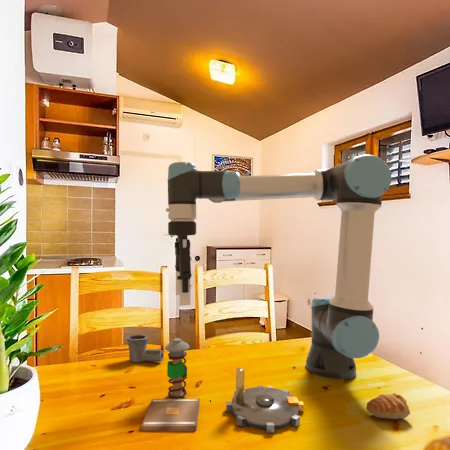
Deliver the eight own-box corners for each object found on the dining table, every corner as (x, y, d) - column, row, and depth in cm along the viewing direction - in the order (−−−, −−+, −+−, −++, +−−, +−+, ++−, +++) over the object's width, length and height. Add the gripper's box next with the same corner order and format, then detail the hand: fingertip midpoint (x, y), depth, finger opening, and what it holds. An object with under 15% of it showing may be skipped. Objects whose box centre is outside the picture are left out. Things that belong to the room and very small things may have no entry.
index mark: (267, 387, 96) (267, 385, 96) (273, 387, 96) (273, 386, 96) (266, 392, 93) (266, 390, 93) (272, 392, 93) (272, 391, 93)
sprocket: (294, 391, 93) (294, 354, 93) (313, 433, 75) (313, 386, 75) (225, 392, 93) (225, 355, 93) (227, 433, 74) (227, 387, 75)
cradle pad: (199, 402, 88) (199, 398, 88) (196, 430, 76) (196, 425, 76) (152, 402, 88) (152, 398, 88) (141, 430, 76) (141, 425, 76)
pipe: (158, 366, 110) (158, 341, 110) (121, 363, 113) (121, 338, 113) (165, 359, 116) (166, 335, 116) (130, 356, 119) (130, 333, 119)
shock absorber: (194, 395, 92) (194, 338, 92) (178, 405, 86) (179, 345, 86) (175, 388, 95) (176, 334, 95) (159, 398, 90) (159, 340, 90)
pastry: (377, 423, 78) (378, 407, 78) (359, 407, 85) (359, 391, 85) (412, 417, 80) (413, 401, 80) (392, 402, 87) (392, 387, 87)
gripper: (166, 221, 105) (166, 291, 105) (170, 219, 81) (171, 311, 81) (191, 221, 106) (191, 290, 106) (202, 219, 82) (203, 309, 82)
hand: (182, 299), depth 93 cm, fingers open, 13 cm apart
